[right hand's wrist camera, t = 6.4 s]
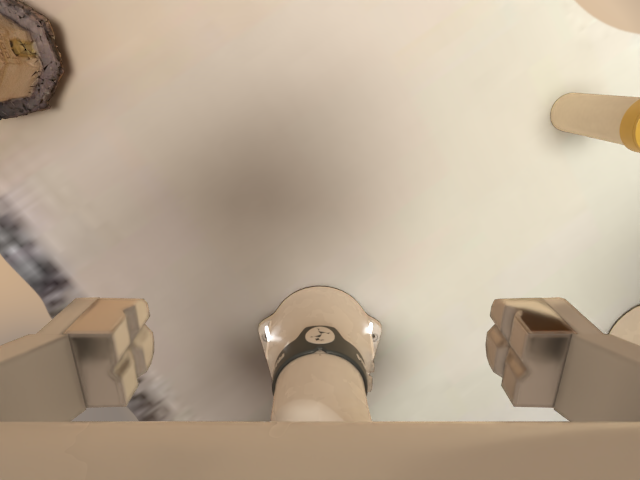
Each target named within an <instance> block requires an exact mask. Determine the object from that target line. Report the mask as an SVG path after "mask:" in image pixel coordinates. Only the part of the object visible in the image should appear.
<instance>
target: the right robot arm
mask: <svg viewBox="0 0 640 480" xmlns="http://www.w3.org/2000/svg"><path fill="white" fill-rule="evenodd" d="M149 317H150V312H149V307H148V303H147V302H146V301H145V300H144V299H135V298H100V297H95V298H76V299H75V300H73V301H72V302H71V303H70V304H69V305H68V306H67V307H66V308H65V309H63V310H62V311H61V312H60V313H59V314H58V315H57V316H56V317H55V318H53V319H52V320H51V321H50V322H49V323H48V324H47V325H46V326H44V327H43V328H42V329H41V330H40V331H39V332H38V333H37V334H28V335H26V336H23V337H21V338H18V339H16V340H13V341H11V342H8V343H6V344H3V345H1V346H0V480H640V346H639V345H637V344H634V343H632V342H629V341H627V340H624V339H622V338H619V337H617V336H614V335H612V334H603V333H602V332H601V331H600V330H599V329H598V328H597V327H596V326H594V325H593V324H592V323H591V322H590V321H589V320H588V319H587V318H586V317H584V316H583V315H582V314H581V313H580V312H579V311H578V310H577V309H576V308H574V307H573V306H572V305H571V304H570V303H569V302H568V301H567V300H566V299H563V298H560V297H555V298H510V299H496V300H494V302H493V304H492V306H491V312H490V317H491V318H492V320H493V321H494V323H495V325H494V326H493V327H492V328H491V329H490V330H489V331H488V332H487V337H486V355H487V359H488V362H489V365H490V367H491V369H492V370H493V372H494V373H496V374H497V375H499V376H501V377H502V384H501V386H502V388H503V389H504V391H505V393H506V394H507V396H508V398H509V399H510V401H511V403H512V404H513V406H514V407H548V408H554V410H555V411H557V412H558V413H559V414H561V415H562V416H563V417H565V418H566V419H567V420H569V421H570V422H372V420H371V416H370V412H369V408H368V403H367V398H366V396H367V392H370V391H371V389H372V377H371V376H369V374H370V372H373V371H374V363H373V360H374V357H375V353H376V350H377V346H378V343H379V339H380V336H381V332H382V326H381V324H380V323H379V322H378V321H377V320H376V319H374V318H372V317H371V316H369V315H367V314H366V313H365V312H364V310H363V309H362V308H361V306H360V305H359V304H358V302H357V301H356V300H355V299H354V298H352V297H351V296H350V295H348V294H347V293H345V292H343V291H341V290H338V289H335V288H331V287H321V286H319V287H309V288H305V289H302V290H299V291H297V292H295V293H293V294H292V295H290V296H289V297H288V298H286V299H285V300H284V301H283V302H282V304H281V305H280V306H279V308H278V309H277V310H276V312H275V313H274V314H273V315H271V316H269V317H268V318H266V319H264V320H263V321H262V322H261V323H260V324H259V326H258V332H259V336H260V339H261V343H262V346H263V350H264V353H265V356H266V360H267V363H268V367H269V370H270V374H271V377H272V381H273V382H272V391H273V396H274V399H273V406H272V413H271V421H270V422H236V421H71V420H73V419H74V418H75V417H77V416H78V415H79V414H81V413H82V412H84V411H85V410H86V408H92V407H126V406H127V404H128V403H129V401H130V399H131V398H132V396H133V394H134V393H135V391H136V389H137V388H138V386H139V384H138V377H139V376H141V375H143V374H144V373H146V372H147V370H148V369H149V367H150V365H151V362H152V358H153V354H154V336H153V332H152V331H151V330H150V329H149V328H148V327H147V326H146V325H145V323H146V321H147V320H148V318H149ZM372 334H374V336H372ZM266 335H267V336H266Z"/></svg>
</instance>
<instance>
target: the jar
mask: <svg viewBox="0 0 640 480" xmlns="http://www.w3.org/2000/svg"><path fill="white" fill-rule="evenodd" d="M639 99H640V97H627V96H612V95H598V94H583V93H568V94H565V95H563V96H562V97H560V98H559V99H558V100H557V101H556V102H555V103H554V105H553V107H552V110H551V115H550V116H551V122H552V124H553V125H554V127H555V128H557V129H558V130H561V131H565V132H570V133H574V134H578V135H583V136H587V137H591V138H596V139H600V140H605V141H609V142H613V143H618V144H622V145H624V144H623V142H622V141H621V138H620V133H619V129H620V123H621V120H622V118H623V116H624V114H625V112H626V111H627V110H628V108H629V107H630V106H631V105H632V104H633V103H635V102H636V101H638V100H639Z"/></svg>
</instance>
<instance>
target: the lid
mask: <svg viewBox="0 0 640 480" xmlns="http://www.w3.org/2000/svg"><path fill="white" fill-rule="evenodd" d="M619 133H620V138H621V141H622V142H623V144H624V145H625V146H626V147H627V148H628V149H630V150H632V151H634V152H639V153H640V99H639V100H638V101H636V102H635V103H633V104H632V105H631V106H630V107H629V108H628V110H627V111H626V112H625V114H624V116H623V118H622V120H621V123H620V129H619Z"/></svg>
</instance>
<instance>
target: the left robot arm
mask: <svg viewBox="0 0 640 480" xmlns="http://www.w3.org/2000/svg"><path fill="white" fill-rule="evenodd" d="M609 334H612V335H614V336H617V337H619V338H622V339H624V340H627V341H629V342H632V343H634V344H637V345H639V346H640V306H637V307H636V308H634V309H632V310H631V311H629V312H628V313H626V314H625V315H624V316H623V317H622V318H621V319H620V320H619V321H618V322H617V323H616V324H615V325H614V327H613V328H612V330H611V331H610V333H609Z"/></svg>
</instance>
